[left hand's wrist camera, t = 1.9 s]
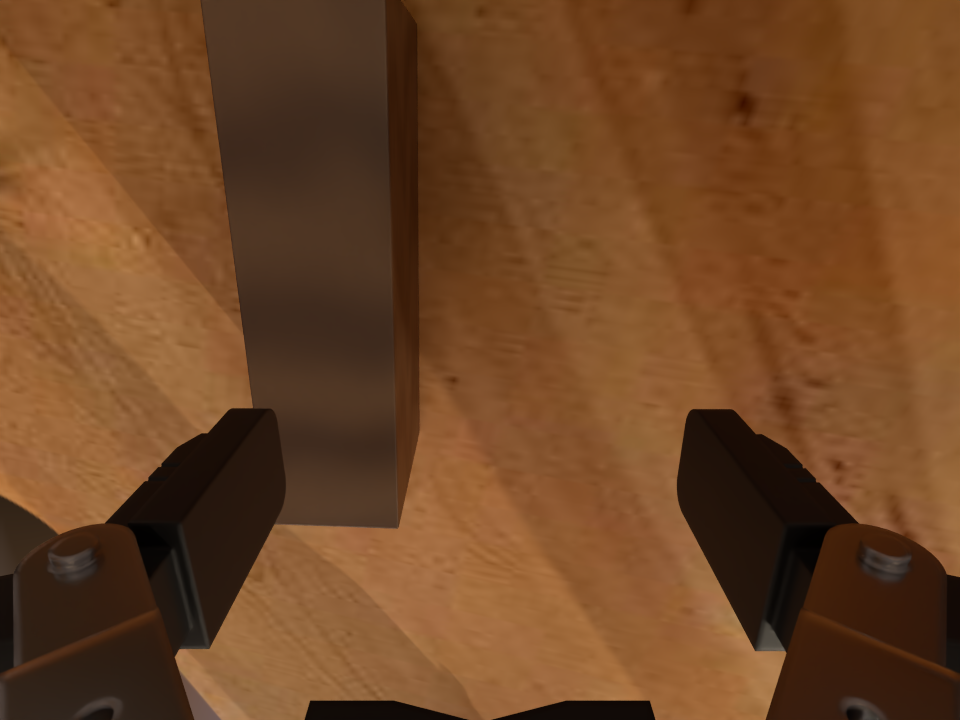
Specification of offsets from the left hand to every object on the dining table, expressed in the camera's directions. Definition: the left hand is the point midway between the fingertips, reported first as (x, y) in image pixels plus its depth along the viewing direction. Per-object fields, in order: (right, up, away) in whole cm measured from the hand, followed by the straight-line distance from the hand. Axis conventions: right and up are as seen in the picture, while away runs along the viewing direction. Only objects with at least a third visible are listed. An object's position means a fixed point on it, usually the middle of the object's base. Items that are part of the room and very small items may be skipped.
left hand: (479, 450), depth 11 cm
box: (-6, +7, +19) cm, 21 cm away
